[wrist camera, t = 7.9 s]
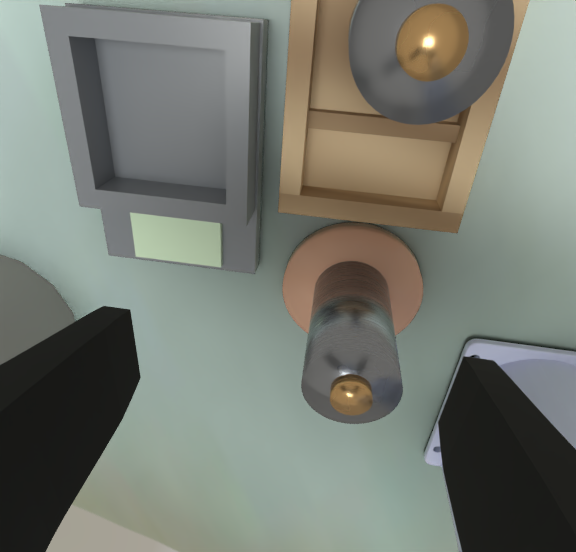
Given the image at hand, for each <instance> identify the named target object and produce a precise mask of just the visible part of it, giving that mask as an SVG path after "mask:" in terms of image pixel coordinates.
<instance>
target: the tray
mask: <svg viewBox="0 0 576 552" xmlns="http://www.w3.org/2000/svg"><path fill="white" fill-rule="evenodd" d="M357 1H358V0H291V14H290V30H289V46H288V62H287V78H286V94H285V110H284V126H283V142H282V158H281V174H280V190H279V206H278V212H280V213H289V214H297V215H306V216H314V217H323V218H331V219H340V220H348V221H357V222H366V223H374V224H383V225H391V226H400V227H408V228H417V229H425V230H434V231H442V232H451V233H458V229H459V226H460V223H461V220H462V217H463V213H464V210H465V207H466V204H467V200H468V197H469V194H470V191H471V188H472V184H473V181H474V178H475V175H476V171H477V168H478V165H479V162H480V158H481V155H482V152H483V149H484V146H485V142H486V139H487V136H488V133H489V129H490V126H491V123H492V120H493V117H494V113H495V110H496V107H497V104H498V100H499V97H500V94H501V91H502V88H503V84H504V81H505V78H506V75H507V71H508V68H509V65H510V62H511V59H512V55H513V52H514V49H515V46H516V42H517V39H518V36H519V33H520V30H521V26H522V23H523V20H524V17H525V13H526V10H527V7H528V4H529V1H530V0H513V5H514V31H513V38H512V42H511V46H510V49H509V53H508V55H507V58H506V60H505V63H504V65H503V67H502V69H501V71H500V72H499V74H498V76H497V77H496V79H495V80H494V82H493V83H492V85H491V86H490V87H489V88H488V89H487V91H486V92H485V93H484V94H483V95H482V96H481V97H480V98H479V99H478V100H477V101H476V102H475V103H473V104H472V105H471V106H469V107H468V108H467V109H465V110H464V111H462V112H460V113H459V114H457V115H455V116H453V117H451V118H448V119H446V120H443V121H440V122H436V123H431V124H423V125H412V124H405V123H400V122H397V121H394V120H391V119H389V118H387V117H385V116H383V115H382V114H380V113H379V112H377V111H376V110H375V109H374V108H373V107H372V106H370V105H369V104H368V102H367V101H366V100H365V99H364V97H363V96H362V95H361V93H360V91H359V89H358V88H357V86H356V83H355V81H354V78H353V75H352V71H351V68H350V61H349V44H348V30H349V23H350V18H351V15H352V12H353V9H354V7H355V5H356V3H357Z"/></svg>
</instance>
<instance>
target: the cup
mask: <svg viewBox="0 0 576 552" xmlns="http://www.w3.org/2000/svg"><path fill="white" fill-rule="evenodd" d="M74 322H75V320H74V315H73V312H72V311H71V309H70V308H69V307H68V305H67V304H66V302H65V301H64V300H63V298H62V297H61V295H60V294H59V293H58V291H57V290H56V288H55V287H54V286H53V285H52V284H51V283H50V282H48V281H47V280H46V279H44V278H43V277H41V276H40V275H39V274H37V273H36V272H35V271H33V270H32V269H31V268H29V267H28V266H27V265H25V264H24V263H23V262H20V261H17V260H14V259H11V258H9V257H6V256H3V255H0V365H1V364H3V363H5V362H6V361H8V360H10V359H12V358H14V357H15V356H17V355H19V354H20V353H22V352H24V351H26V350H27V349H29V348H31V347H33V346H34V345H36V344H38V343H40V342H41V341H43V340H45V339H47V338H48V337H50V336H52V335H53V334H55V333H57V332H58V331H60V330H62V329H64V328H65V327H67V326H69V325H70V324H72V323H74Z"/></svg>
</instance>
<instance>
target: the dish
mask: <svg viewBox="0 0 576 552" xmlns="http://www.w3.org/2000/svg"><path fill="white" fill-rule="evenodd" d="M345 261H358V262H363V263H366V264H368V265H371V266H372V267H374V268H376V269H377V270H378V271H379V272H380V273H381V274H382V275H383V276H384V278H385V279H386V281H387V284H388V288H389V295H390V302H391V309H392V316H393V323H394V330H395V335H397V334H398V333H399V332H401V331H402V330H403V329H405V328H406V327H407V326H408V324H409V323H410V322H411V321H412V320H413V318H414V317H415V315H416V314H417V312H418V310H419V307H420V305H421V302H422V297H423V281H422V276H421V273H420V269H419V266H418V262H417V260H416V258H415V256H414V254H413V253H412V251H411V250H410V248H409V247H408V246H407V245H406V244H405V243H404V242H403V241H402V240H401V239H400V238H399V237H397V236H396V235H394V234H393V233H391V232H390V231H387V230H385V229H383V228H381V227H378V226H375V225H371V224H366V223H356V222H349V223H340V224H334V225H331V226H328V227H324V228H322V229H320V230H318V231H316V232H314V233H313V234H311V235H309V236H308V237H307V238H306V239H304V240H303V241H302V242H301V243H300V244H299V245H298V246H297V247H296V249H295V250H294V252H293V253H292V255H291V257H290V259H289V261H288V264H287V267H286V271H285V274H284V279H283V297H284V302H285V305H286V308H287V310H288V312H289V314H290V315H291V317H292V318H293V320H294V321H295V322H296V323H297V324H298V325H299V326H300V327H301V328H302V329H303V330H304V331H305V332H307V333H308V332H309V325H310V318H311V311H312V303H313V296H314V289H315V284H316V282H317V279H318V278H319V276H320V275H321V274H322V273H323V272H324V271H325V270H326V269H327V268H329V267H330V266H332V265H334V264H337V263H340V262H345Z"/></svg>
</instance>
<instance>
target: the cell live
mask: <svg viewBox="0 0 576 552" xmlns="http://www.w3.org/2000/svg"><path fill="white" fill-rule="evenodd" d="M513 31H514V5H513V0H358V1H357V3H356V5H355V7H354V9H353V12H352V15H351V18H350V23H349V30H348V44H349V61H350V68H351V71H352V75H353V78H354V81H355V83H356V86H357V88H358V89H359V91H360V93H361V95H362V96H363V97H364V99H365V100H366V101H367V102H368V104H369V105H370V106H372V107H373V108H374V109H375V110H376V111H377V112H379V113H380V114H382V115H383V116H385V117H387V118H389V119H391V120H394V121H397V122H400V123H405V124H412V125H423V124H431V123H436V122H440V121H443V120H446V119H448V118H451V117H453V116H455V115H457V114H459V113H460V112H462V111H464V110H465V109H467V108H468V107H469V106H471V105H472V104H473V103H475V102H476V101H477V100H478V99H479V98H480V97H481V96H482V95H483V94H484V93H485V92H486V91H487V89H488V88H489V87H490V86H491V85H492V83H493V82H494V80H495V79H496V77H497V76H498V74H499V72H500V71H501V69H502V67H503V65H504V63H505V60H506V58H507V55H508V53H509V49H510V46H511V42H512V38H513Z"/></svg>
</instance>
